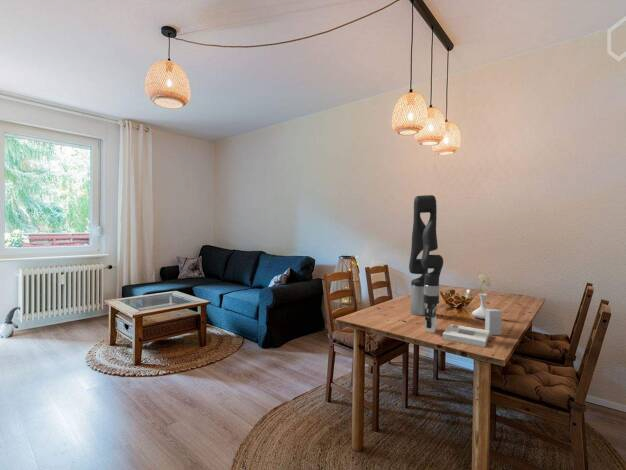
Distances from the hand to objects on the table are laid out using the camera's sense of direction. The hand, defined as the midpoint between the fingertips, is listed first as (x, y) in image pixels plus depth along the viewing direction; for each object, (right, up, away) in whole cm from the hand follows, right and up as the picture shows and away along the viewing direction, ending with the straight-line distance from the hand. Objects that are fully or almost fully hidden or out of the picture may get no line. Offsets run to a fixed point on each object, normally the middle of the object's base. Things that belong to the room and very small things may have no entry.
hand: (430, 326), depth 170 cm
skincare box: (+30, -3, -4) cm, 30 cm away
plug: (0, -2, 0) cm, 2 cm away
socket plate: (+14, -3, -10) cm, 17 cm away
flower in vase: (+39, -2, +25) cm, 46 cm away
